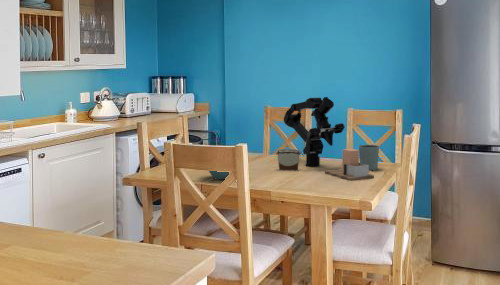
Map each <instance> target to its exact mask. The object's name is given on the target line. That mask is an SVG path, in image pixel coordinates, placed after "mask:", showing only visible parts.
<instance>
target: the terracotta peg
mask: <svg viewBox="0 0 500 285" xmlns="http://www.w3.org/2000/svg"><path fill="white" fill-rule="evenodd" d="M341 163H342V164H341V165H342V172H343V173H344V164H349V165H353V166H359V163H360V156H359V149H354V148H345V149H344V148H343V149H342V162H341Z"/></svg>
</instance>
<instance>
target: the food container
mask: <svg viewBox="0 0 500 285" xmlns="http://www.w3.org/2000/svg"><path fill="white" fill-rule="evenodd" d="M276 155H277V161H278V163H277V164H278V171H293V172H294V171H296V172H297V171H299V165H300V164H299V163H300V156H301V155H302V154H301V151H300V150H299V149H290V148H284V149H278V150H277V151H276Z"/></svg>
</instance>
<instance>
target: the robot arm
mask: <svg viewBox="0 0 500 285" xmlns="http://www.w3.org/2000/svg"><path fill="white" fill-rule="evenodd" d="M334 106H335V104H334V101H333V100H332V99H330V98H329V97H328V96H324V97H323V98H322V97H319V96H318V97H309V98H307V99H306V100H305V101H301V102H298V103H297V102H296V103H293V104H291V105H290V108H288V109H287V110H286V112H284V113H285V114H284V116H283V123H284V125H286V126H288V128H291V129H293V130H294V131H295V132H296V133H297V134H298V136H299V138H301V139H302V141H304V143H305V145H304V146H305V147H304V148H303V149H302V152H303V155H306V156H305V160H306V161H305V166H306V167H319V166H320V164H321V157H320V155H322V154H323V150H324V143H323V140H322V139H324V141H325V142H327V144H328V145H329V146H330V147H331V146H333V143H334V140H333V136H334V134H335V135H336V134H341V133H343V131H344V130H345V128H346V127H345V124H344V123H343V122H340V123H336V124H335V125H334V127H333V126H332V124H331V123H330V122H329V116H327V114H329V112H330V111H331V110H332V109H333V108H334ZM307 109H308V110H309V109H310V110H312V109H314V110H312V112H311V114H310V116H311V117H314V119H315V122H316V124H315V126H316V127H313V128H309V129H308V130H307V128H306V127H305V126H304V125H303V124H302V122H301V118H302V113H301V111H303V110H307ZM294 112H297V113H294Z"/></svg>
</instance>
